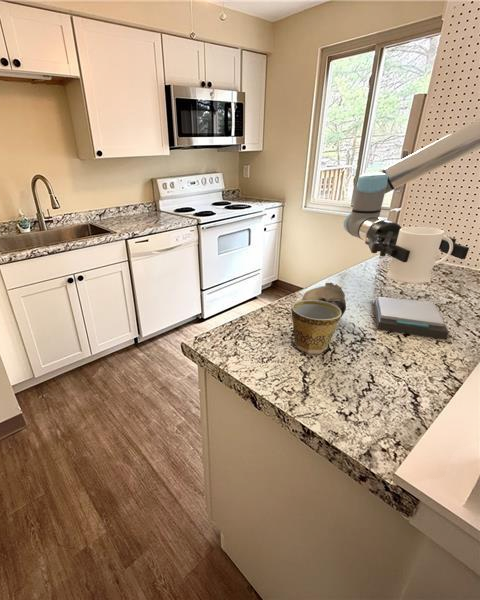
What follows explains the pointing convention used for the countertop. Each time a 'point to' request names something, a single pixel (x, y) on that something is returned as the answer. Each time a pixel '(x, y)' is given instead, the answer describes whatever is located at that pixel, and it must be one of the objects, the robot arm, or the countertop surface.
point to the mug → (418, 254)
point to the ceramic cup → (314, 324)
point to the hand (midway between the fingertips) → (435, 255)
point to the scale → (409, 317)
